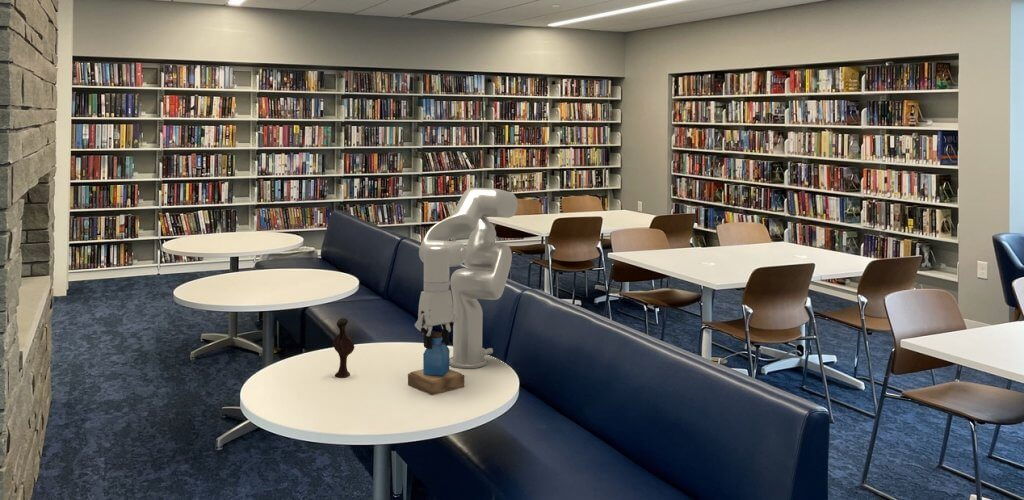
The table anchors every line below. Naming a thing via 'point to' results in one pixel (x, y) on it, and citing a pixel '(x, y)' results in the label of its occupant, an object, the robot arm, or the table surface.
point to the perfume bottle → (436, 357)
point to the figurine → (343, 348)
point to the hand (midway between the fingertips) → (436, 345)
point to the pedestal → (435, 381)
